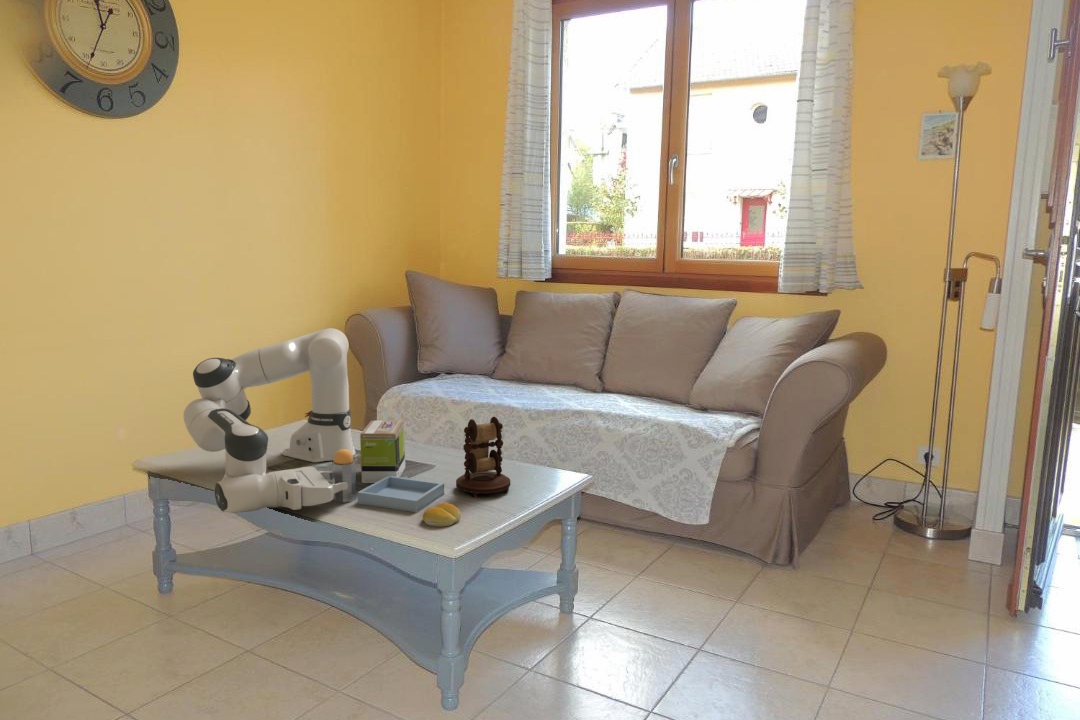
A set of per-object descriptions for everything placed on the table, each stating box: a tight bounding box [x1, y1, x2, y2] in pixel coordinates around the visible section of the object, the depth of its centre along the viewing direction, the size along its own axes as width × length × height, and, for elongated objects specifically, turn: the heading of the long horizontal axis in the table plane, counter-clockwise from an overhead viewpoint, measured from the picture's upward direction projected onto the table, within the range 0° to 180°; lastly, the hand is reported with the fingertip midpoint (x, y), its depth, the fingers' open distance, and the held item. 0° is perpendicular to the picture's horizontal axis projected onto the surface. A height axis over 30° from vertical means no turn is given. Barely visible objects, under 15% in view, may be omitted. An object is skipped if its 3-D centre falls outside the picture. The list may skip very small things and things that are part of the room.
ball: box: [333, 449, 354, 465], centre depth 197 cm, size 5×5×5 cm
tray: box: [357, 476, 445, 513], centre depth 200 cm, size 17×15×3 cm
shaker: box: [331, 459, 357, 504], centre depth 198 cm, size 5×5×10 cm
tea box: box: [359, 420, 406, 484], centre depth 218 cm, size 15×10×15 cm, turn 1°
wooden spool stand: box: [455, 416, 511, 498], centre depth 207 cm, size 15×15×20 cm
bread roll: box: [422, 502, 462, 527], centre depth 185 cm, size 8×9×4 cm
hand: (341, 479), depth 198 cm, fingers open, 8 cm apart
